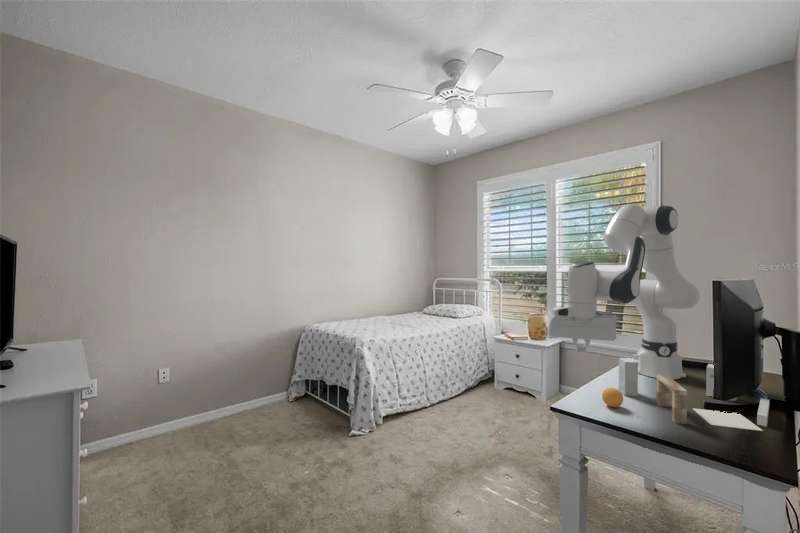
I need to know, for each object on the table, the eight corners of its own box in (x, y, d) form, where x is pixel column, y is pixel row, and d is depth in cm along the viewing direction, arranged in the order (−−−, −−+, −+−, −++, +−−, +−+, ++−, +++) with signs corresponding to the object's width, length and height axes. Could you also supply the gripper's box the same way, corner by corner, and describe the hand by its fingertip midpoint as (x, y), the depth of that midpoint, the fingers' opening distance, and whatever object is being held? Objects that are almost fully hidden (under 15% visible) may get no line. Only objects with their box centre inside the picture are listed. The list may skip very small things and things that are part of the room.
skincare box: (638, 396, 128) (638, 362, 127) (624, 395, 128) (625, 362, 128) (630, 390, 134) (631, 358, 133) (617, 389, 134) (618, 357, 134)
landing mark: (692, 408, 117) (692, 408, 117) (739, 413, 114) (739, 413, 114) (711, 425, 106) (711, 424, 106) (763, 431, 102) (763, 430, 102)
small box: (738, 398, 126) (738, 368, 126) (736, 402, 122) (737, 371, 122) (707, 392, 132) (708, 363, 132) (705, 396, 128) (706, 366, 128)
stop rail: (760, 407, 119) (760, 398, 119) (769, 409, 117) (769, 399, 117) (756, 424, 106) (757, 414, 106) (766, 426, 105) (766, 416, 105)
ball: (600, 401, 123) (600, 384, 123) (620, 404, 121) (620, 386, 121) (604, 408, 117) (604, 390, 117) (625, 411, 116) (625, 392, 115)
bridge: (674, 422, 108) (674, 389, 107) (656, 403, 122) (656, 374, 122) (686, 424, 107) (687, 391, 106) (667, 404, 121) (667, 375, 121)
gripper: (614, 310, 121) (614, 352, 122) (548, 307, 128) (547, 347, 128) (619, 313, 115) (618, 357, 116) (549, 310, 122) (549, 351, 122)
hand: (580, 351), depth 122 cm, fingers closed
